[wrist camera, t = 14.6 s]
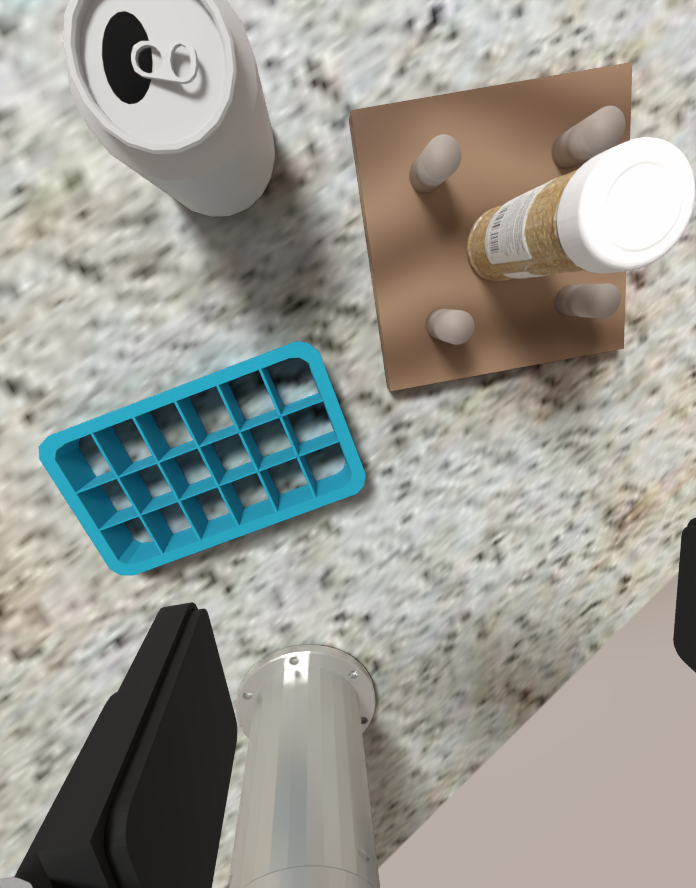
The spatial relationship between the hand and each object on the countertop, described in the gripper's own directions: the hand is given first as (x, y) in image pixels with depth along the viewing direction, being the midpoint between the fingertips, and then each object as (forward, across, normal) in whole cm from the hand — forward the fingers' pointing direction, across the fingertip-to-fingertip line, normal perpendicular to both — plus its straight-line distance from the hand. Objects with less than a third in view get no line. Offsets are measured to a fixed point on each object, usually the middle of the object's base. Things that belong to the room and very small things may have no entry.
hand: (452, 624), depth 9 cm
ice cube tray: (+26, +10, +3) cm, 29 cm away
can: (+25, +6, -16) cm, 31 cm away
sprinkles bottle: (+24, -11, -9) cm, 28 cm away
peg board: (+25, -11, -9) cm, 29 cm away
